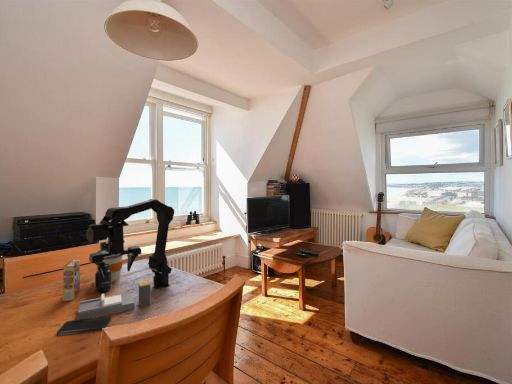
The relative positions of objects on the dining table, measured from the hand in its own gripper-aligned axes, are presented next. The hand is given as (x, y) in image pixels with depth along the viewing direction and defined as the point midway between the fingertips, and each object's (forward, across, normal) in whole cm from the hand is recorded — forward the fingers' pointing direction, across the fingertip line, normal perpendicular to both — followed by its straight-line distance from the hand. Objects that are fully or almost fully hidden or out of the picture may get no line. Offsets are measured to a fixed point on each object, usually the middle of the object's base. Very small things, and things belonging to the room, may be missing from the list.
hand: (116, 273), depth 108 cm
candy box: (+12, +13, -20) cm, 27 cm away
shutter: (+10, +3, +3) cm, 11 cm away
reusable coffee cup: (+13, -5, -31) cm, 34 cm away
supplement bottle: (+13, +1, -18) cm, 22 cm away
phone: (+13, +14, +12) cm, 22 cm away
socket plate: (+12, +5, +3) cm, 13 cm away
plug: (+12, -8, +9) cm, 17 cm away
